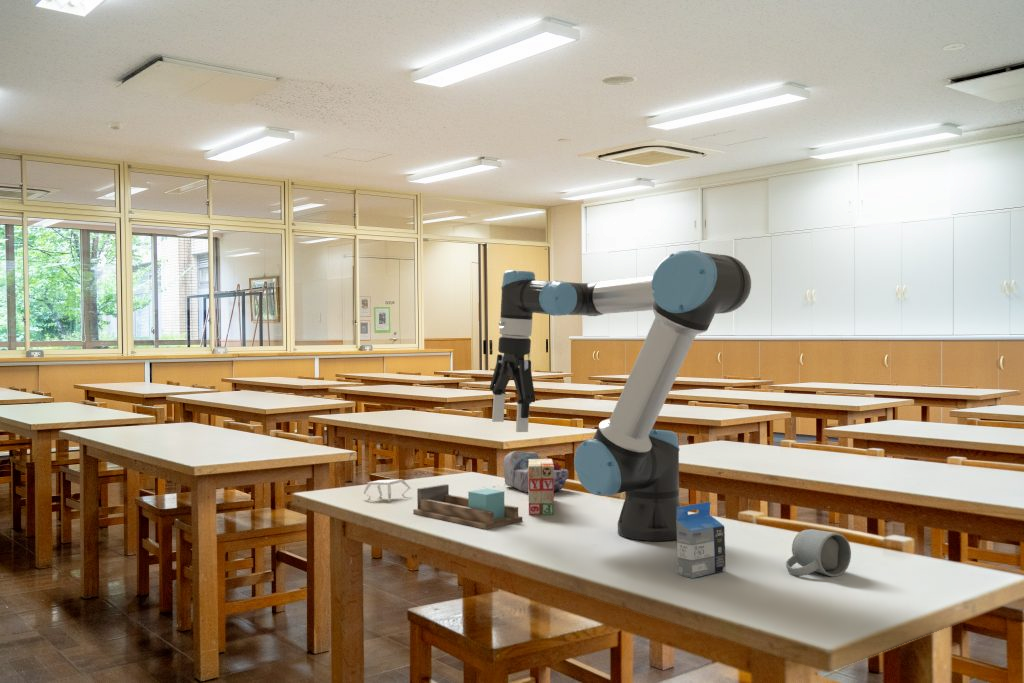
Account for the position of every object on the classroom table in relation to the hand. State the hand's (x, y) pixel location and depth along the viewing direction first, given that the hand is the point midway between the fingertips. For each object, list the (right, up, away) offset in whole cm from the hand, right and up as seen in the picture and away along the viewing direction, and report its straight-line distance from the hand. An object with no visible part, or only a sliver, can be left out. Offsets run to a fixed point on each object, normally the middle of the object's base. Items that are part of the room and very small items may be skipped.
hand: (509, 426), depth 199 cm
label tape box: (+35, -22, -45) cm, 61 cm away
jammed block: (-5, -21, +1) cm, 22 cm away
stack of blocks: (+8, -23, +19) cm, 31 cm away
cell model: (+7, -23, +44) cm, 50 cm away
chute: (-10, -23, +6) cm, 25 cm away
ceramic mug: (+56, -22, -45) cm, 75 cm away
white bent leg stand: (-33, -23, +31) cm, 51 cm away
